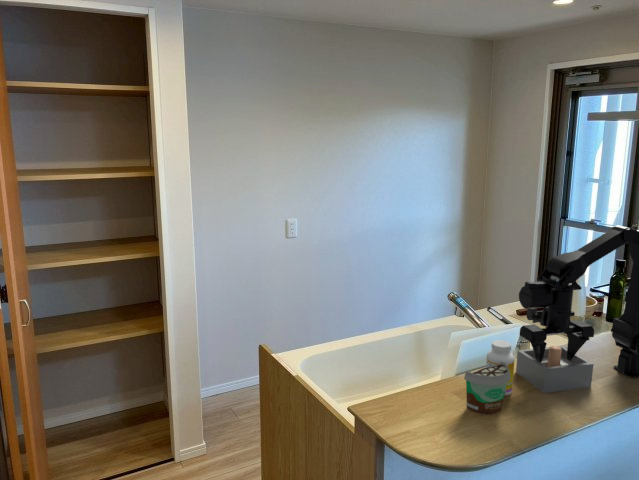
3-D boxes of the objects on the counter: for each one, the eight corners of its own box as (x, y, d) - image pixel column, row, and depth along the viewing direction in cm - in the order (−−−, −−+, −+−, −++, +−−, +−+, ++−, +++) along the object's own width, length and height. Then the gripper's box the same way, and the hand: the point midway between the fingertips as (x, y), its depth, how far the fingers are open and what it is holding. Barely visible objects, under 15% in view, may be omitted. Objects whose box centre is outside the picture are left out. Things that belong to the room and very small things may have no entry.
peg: (553, 373, 140) (556, 345, 138) (561, 378, 137) (564, 350, 135) (544, 374, 139) (546, 346, 138) (551, 379, 136) (554, 351, 135)
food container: (481, 422, 118) (483, 381, 116) (462, 409, 123) (464, 370, 121) (519, 409, 123) (522, 370, 121) (499, 397, 129) (502, 360, 127)
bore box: (559, 367, 146) (562, 345, 144) (590, 387, 134) (593, 363, 133) (515, 372, 143) (517, 350, 141) (543, 393, 131) (546, 369, 130)
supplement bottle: (508, 384, 135) (511, 339, 133) (515, 397, 129) (519, 349, 126) (482, 383, 136) (485, 338, 134) (487, 396, 130) (491, 348, 127)
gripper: (569, 294, 144) (563, 346, 147) (509, 298, 140) (505, 352, 143) (598, 306, 133) (592, 362, 136) (535, 312, 129) (530, 370, 132)
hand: (554, 361), depth 137 cm, fingers open, 9 cm apart
